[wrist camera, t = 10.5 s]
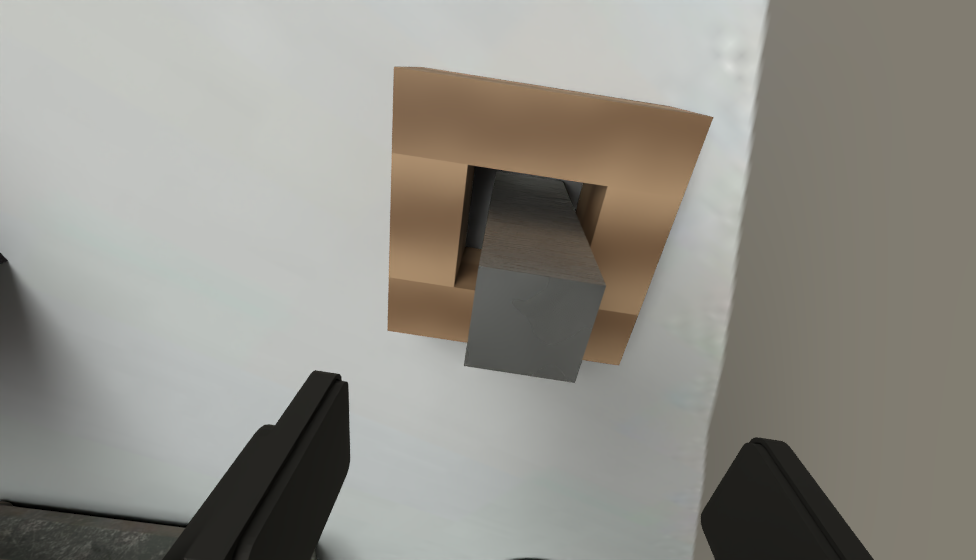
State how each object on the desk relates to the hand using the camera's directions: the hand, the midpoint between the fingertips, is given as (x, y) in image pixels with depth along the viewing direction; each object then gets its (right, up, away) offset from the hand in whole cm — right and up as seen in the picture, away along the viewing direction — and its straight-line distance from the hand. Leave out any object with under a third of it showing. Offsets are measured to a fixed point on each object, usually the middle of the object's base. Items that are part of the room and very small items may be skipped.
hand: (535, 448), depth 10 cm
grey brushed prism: (+1, +8, +15) cm, 17 cm away
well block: (+1, +9, +15) cm, 17 cm away
